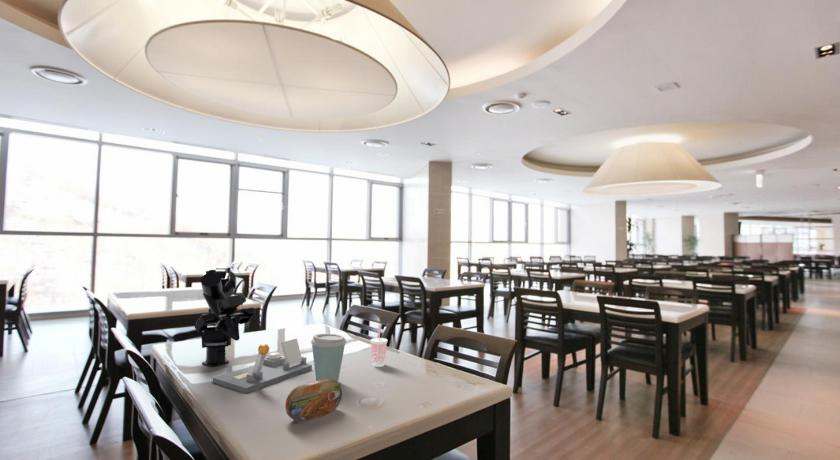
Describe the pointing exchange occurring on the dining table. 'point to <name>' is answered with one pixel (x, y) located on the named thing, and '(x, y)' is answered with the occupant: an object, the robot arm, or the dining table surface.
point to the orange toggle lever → (260, 359)
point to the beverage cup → (378, 351)
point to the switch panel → (261, 375)
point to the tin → (313, 400)
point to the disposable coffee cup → (328, 355)
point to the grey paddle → (291, 351)
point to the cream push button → (274, 356)
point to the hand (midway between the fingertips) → (237, 339)
